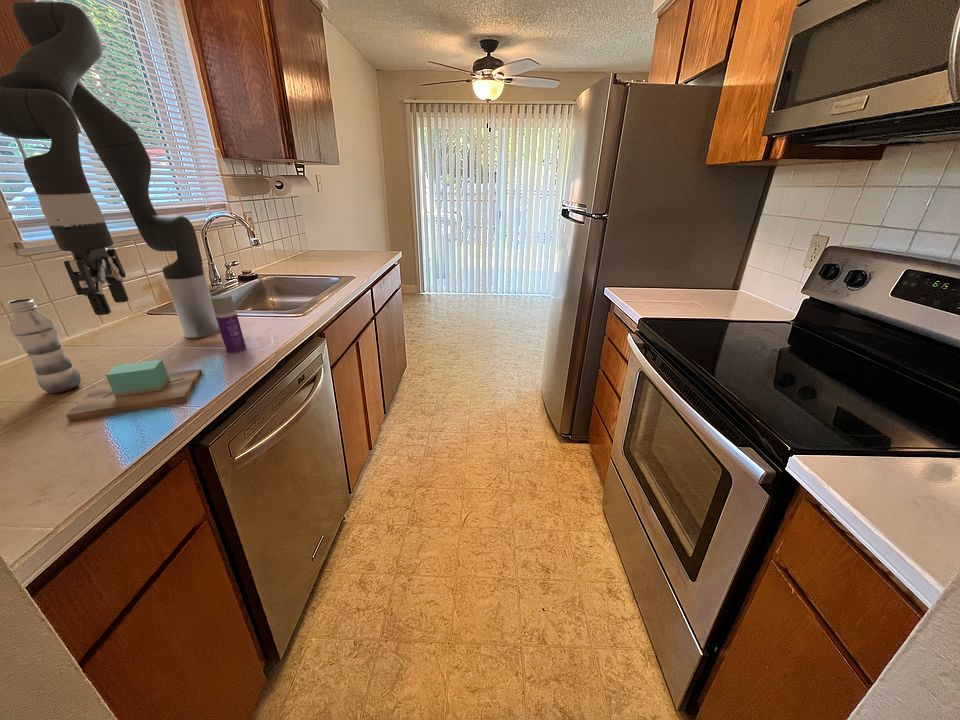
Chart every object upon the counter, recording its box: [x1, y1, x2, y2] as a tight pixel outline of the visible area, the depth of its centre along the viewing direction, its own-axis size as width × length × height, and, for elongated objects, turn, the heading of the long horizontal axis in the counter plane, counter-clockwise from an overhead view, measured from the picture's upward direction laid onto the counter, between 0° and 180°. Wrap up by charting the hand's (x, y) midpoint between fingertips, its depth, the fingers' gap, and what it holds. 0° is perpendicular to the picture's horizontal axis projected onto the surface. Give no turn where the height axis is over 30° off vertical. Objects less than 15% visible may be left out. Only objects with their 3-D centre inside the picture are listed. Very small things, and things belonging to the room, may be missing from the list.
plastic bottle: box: [7, 298, 82, 394], centre depth 83 cm, size 6×7×20 cm
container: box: [211, 293, 247, 356], centre depth 103 cm, size 5×5×15 cm
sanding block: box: [105, 358, 170, 397], centre depth 83 cm, size 5×8×5 cm, turn 110°
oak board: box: [65, 368, 204, 422], centre depth 84 cm, size 14×19×2 cm
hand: (113, 307), depth 78 cm, fingers open, 8 cm apart
